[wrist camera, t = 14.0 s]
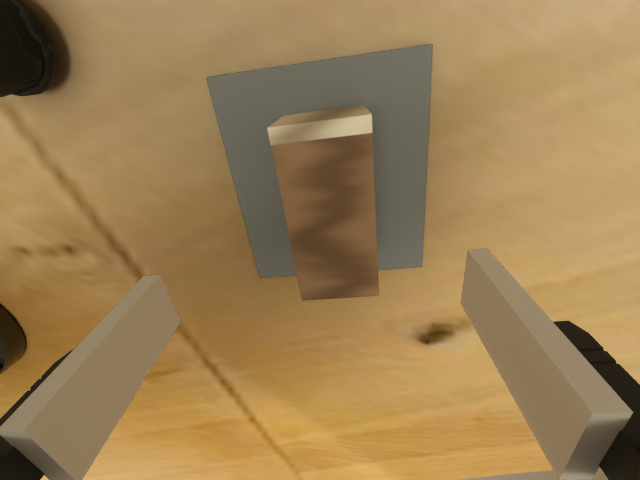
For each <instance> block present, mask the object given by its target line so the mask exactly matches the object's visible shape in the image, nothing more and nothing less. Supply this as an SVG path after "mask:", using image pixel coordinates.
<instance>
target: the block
mask: <svg viewBox="0 0 640 480" xmlns="http://www.w3.org/2000/svg"><path fill="white" fill-rule="evenodd" d="M267 130H268V135H269V140H270V145H271V148H272V153H273V158H274V163H275V168H276V173H277V178H278V183H279V188H280V193H281V198H282V203H283V208H284V213H285V218H286V223H287V228H288V233H289V238H290V243H291V248H292V253H293V258H294V263H295V268H296V273H297V278H298V283H299V288H300V293H301V298H302V300H318V299H334V298H351V297H367V296H379V283H378V259H377V236H376V212H375V188H374V165H373V141H372V133H373V132H372V114H371V113H370V111H369V110H368V109H367V108H366V106H365V105H358V106H350V107H343V108H335V109H328V110H320V111H313V112H305V113H298V114H290V115H284V116H282V117H281V118H280V119H278V120H277V121H276V122H274V123H273V124H272V125H270V126H269V127H267Z"/></svg>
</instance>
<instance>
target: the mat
mask: <svg viewBox="0 0 640 480" xmlns="http://www.w3.org/2000/svg"><path fill="white" fill-rule="evenodd" d="M432 50H433V44H430V45H424V46H417V47H410V48H403V49H396V50H389V51H383V52H376V53H369V54H362V55H355V56H348V57H342V58H335V59H328V60H321V61H314V62H307V63H301V64H294V65H287V66H280V67H273V68H266V69H260V70H253V71H246V72H239V73H232V74H225V75H219V76H212V77H206V80H207V84H208V87H209V91H210V95H211V98H212V102H213V106H214V110H215V113H216V117H217V121H218V125H219V128H220V132H221V136H222V140H223V143H224V147H225V151H226V154H227V158H228V162H229V166H230V169H231V173H232V177H233V181H234V184H235V188H236V192H237V196H238V199H239V203H240V207H241V210H242V214H243V218H244V222H245V225H246V229H247V233H248V237H249V240H250V244H251V248H252V252H253V255H254V259H255V263H256V266H257V270H258V274H259V278H270V277H285V276H297V273H296V268H295V263H294V258H293V253H292V248H291V243H290V238H289V233H288V228H287V223H286V218H285V213H284V208H283V203H282V198H281V193H280V188H279V183H278V178H277V173H276V168H275V163H274V158H273V153H272V148H271V145H270V140H269V135H268V130H267V127H269V126H270V125H272V124H273V123H274V122H276V121H277V120H278V119H280V118H281V117H282V116H284V115H290V114H298V113H305V112H313V111H320V110H328V109H335V108H343V107H350V106H358V105H365V106H366V108H367V109H368V110H369V111H370V113H371V114H372V132H373V133H372V141H373V165H374V188H375V212H376V236H377V259H378V270H389V269H404V268H419V267H422V260H423V239H424V218H425V197H426V176H427V155H428V134H429V113H430V92H431V71H432Z"/></svg>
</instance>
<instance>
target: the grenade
mask: <svg viewBox="0 0 640 480" xmlns="http://www.w3.org/2000/svg"><path fill="white" fill-rule="evenodd" d="M56 66H57V61H56V56H55V51H54V46H53V43H52V41H51V39H50V37H49V34H48V32H47V30H46V28H45V26H44V25H43V24H42V22H41V21H40V19H39V18H38V17H37V15H36V14H35V12H34V11H33V10H32V9H31V8H30V7H29V6H28V5H27V4H26V3H25V2H23V1H22V0H0V97H4V96H7V95H10V94H13V95H17V96H29V95H36V94H41V93H42V92H44V91H45V90H47V89H48V88H50V86H51V84H52V82H53V80H54V78H55V76H56Z"/></svg>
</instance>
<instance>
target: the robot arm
mask: <svg viewBox="0 0 640 480" xmlns="http://www.w3.org/2000/svg"><path fill="white" fill-rule="evenodd" d="M461 304H462V306H463V308H464V310H465V312H466V313H467V315H468V317H469V319H470V321H471V322H472V324H473V326H474V328H475V330H476V331H477V333H478V335H479V337H480V339H481V340H482V342H483V344H484V346H485V348H486V349H487V351H488V353H489V355H490V357H491V358H492V360H493V362H494V364H495V366H496V367H497V369H498V371H499V373H500V375H501V376H502V378H503V380H504V382H505V384H506V385H507V387H508V389H509V391H510V393H511V394H512V396H513V398H514V400H515V402H516V403H517V405H518V407H519V409H520V411H521V412H522V414H523V416H524V418H525V420H526V421H527V423H528V425H529V427H530V429H531V430H532V432H533V434H534V436H535V438H536V439H537V441H538V443H539V445H540V447H541V448H542V450H543V452H544V454H545V455H546V457H547V459H548V461H549V463H550V464H551V466H552V468H553V470H554V472H555V473H556V475H557V477H558V479H592V478H593V476H594V475H595V473H596V472H597V470H598V468H599V467H600V468H601V469H602V470H603V472H604V473H605V475H606V476H607V478H608V479H609V480H640V385H639V384H638V383H637V382H636V381H635V380H634V379H633V378H632V377H631V376H630V375H629V374H628V373H627V372H626V371H625V370H624V369H623V368H622V367H621V366H620V365H619V364H617V363H616V360H615V359H614V358H613V357H612V356H611V355H610V354H609V353H608V352H607V351H604V350H603V347H602V346H601V345H600V344H599V343H598V342H597V341H596V340H595V339H594V338H593V337H592V336H591V335H590V334H589V333H588V332H586V331H584V330H583V329H581V328H579V327H578V326H576V325H575V324H573V323H571V322H570V321H557V322H553V321H552V320H551V319H550V318H549V317H548V316H547V315H546V314H545V312H544V311H543V310H542V309H541V308H540V307H539V306H538V305H537V303H536V302H535V301H534V300H533V299H532V298H531V297H530V296H529V294H528V293H527V292H526V291H525V290H524V289H523V288H522V287H521V285H520V284H519V283H518V282H517V281H516V280H515V279H514V278H513V276H512V275H511V274H510V273H509V272H508V271H507V270H506V269H505V267H504V266H503V265H502V264H501V263H500V262H499V261H498V259H497V258H496V257H495V256H494V255H493V254H492V253H491V252H490V250H489V249H488V248H485V249H473V250H468V251H467V259H466V266H465V274H464V282H463V289H462V297H461ZM180 322H181V320H180V318H179V316H178V314H177V311H176V309H175V307H174V305H173V303H172V300H171V298H170V296H169V294H168V292H167V290H166V287H165V285H164V283H163V281H162V279H161V277H160V275H152V276H143V277H142V278H141V279H140V280H139V281H138V283H137V284H136V285H135V286H134V287H133V288H132V289H131V290H130V291H129V292H128V293H127V294H126V295H125V296H124V297H123V298H122V299H121V300H120V301H119V302H118V304H117V305H116V306H115V307H114V308H113V309H112V310H111V311H110V312H109V313H108V314H107V315H106V316H105V317H104V318H103V319H102V320H101V321H100V322H99V324H98V325H97V326H96V327H95V328H94V329H93V330H92V331H91V332H90V333H89V334H88V335H87V336H86V337H85V338H84V339H83V340H82V341H81V342H80V344H79V345H78V346H77V347H76V348H75V349H74V350H72V351H70V352H69V353H68V354H66V355H65V356H63V357H62V358H61V359H59V360H58V361H57V362H55V363H54V364H53V365H52V366H51V367H50V368H49V369H48V370H47V371H46V372H45V373H44V374H43V376H42V378H41V379H39V380H38V381H37V382H36V383H35V384H34V385H33V386H32V387H31V390H30V391H27V392H26V393H25V394H24V395H23V396H22V397H21V398H20V399H19V400H18V401H17V402H16V403H15V404H14V405H13V406H12V407H11V408H10V409H9V410H8V411H7V413H6V414H5V415H4V416H3V417H2V418H1V419H0V480H40V479H41V478H42V476H43V475H45V476H46V477H47V478H48V479H50V480H82V479H83V477H84V476H85V474H86V473H87V471H88V469H89V468H90V466H91V465H92V463H93V461H94V460H95V458H96V457H97V455H98V453H99V452H100V450H101V449H102V447H103V445H104V444H105V442H106V441H107V439H108V437H109V436H110V434H111V433H112V431H113V429H114V428H115V426H116V425H117V423H118V421H119V420H120V418H121V417H122V415H123V413H124V412H125V410H126V409H127V407H128V405H129V404H130V402H131V401H132V399H133V397H134V396H135V394H136V393H137V391H138V389H139V388H140V386H141V385H142V383H143V381H144V380H145V378H146V377H147V375H148V373H149V372H150V370H151V368H152V367H153V365H154V364H155V362H156V360H157V359H158V357H159V356H160V354H161V352H162V351H163V349H164V348H165V346H166V344H167V343H168V341H169V340H170V338H171V336H172V335H173V333H174V332H175V330H176V328H177V327H178V325H179V324H180ZM25 347H26V344H25V338H24V335H23V333H22V331H21V329H20V327H19V326H18V324H17V323H16V322H15V320H14V319H13V318H12V317H11V316H10V315H9V314H8V313H7V312H6V311H5V310H4V309H3V308H2V307H1V306H0V374H1V373H3V372H4V371H6V370H7V369H8V368H9V367H10V366H11V365H13V364H14V363H15V362H16V361H17V360H18V359H19V358H20V357H21V356H22V355H23V354H24V351H25Z"/></svg>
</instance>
